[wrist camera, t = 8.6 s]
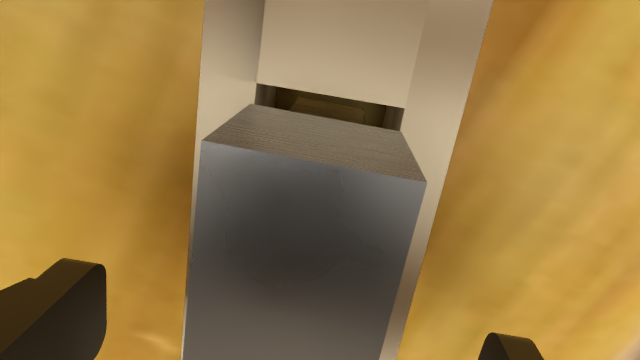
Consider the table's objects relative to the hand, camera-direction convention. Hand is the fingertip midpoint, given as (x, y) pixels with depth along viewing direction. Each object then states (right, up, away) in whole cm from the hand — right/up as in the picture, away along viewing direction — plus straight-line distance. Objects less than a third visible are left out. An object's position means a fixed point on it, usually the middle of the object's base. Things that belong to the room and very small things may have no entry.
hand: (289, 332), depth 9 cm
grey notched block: (0, +2, +6) cm, 6 cm away
